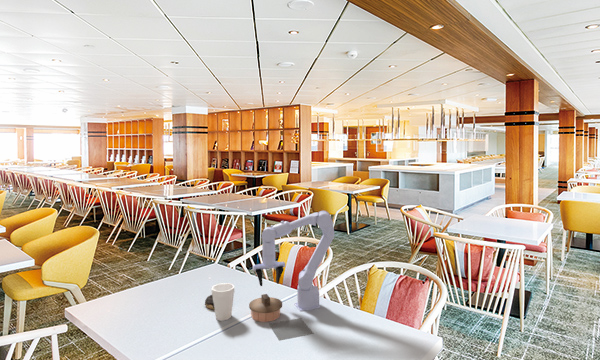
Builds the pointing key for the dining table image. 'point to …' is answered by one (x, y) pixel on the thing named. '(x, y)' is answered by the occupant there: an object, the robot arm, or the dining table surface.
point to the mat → (290, 329)
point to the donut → (209, 302)
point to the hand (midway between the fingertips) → (269, 284)
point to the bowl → (265, 316)
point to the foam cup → (223, 300)
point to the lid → (265, 304)
